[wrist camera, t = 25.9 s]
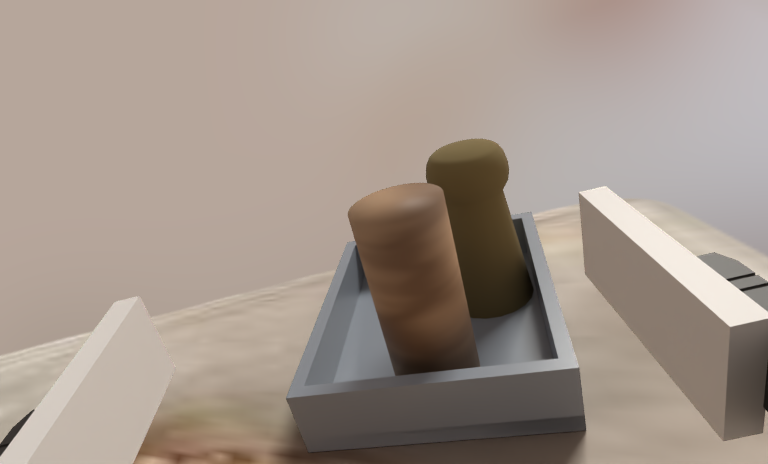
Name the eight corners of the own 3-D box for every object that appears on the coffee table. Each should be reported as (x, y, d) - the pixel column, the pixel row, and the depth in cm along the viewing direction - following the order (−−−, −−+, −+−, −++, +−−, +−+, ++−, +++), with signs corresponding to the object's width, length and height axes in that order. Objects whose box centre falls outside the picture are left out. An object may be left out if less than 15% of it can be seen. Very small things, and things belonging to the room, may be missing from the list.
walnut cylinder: (394, 407, 30) (340, 232, 25) (399, 351, 34) (354, 194, 30) (484, 395, 29) (444, 212, 24) (477, 339, 33) (442, 176, 29)
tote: (308, 452, 30) (285, 398, 28) (359, 283, 45) (347, 242, 44) (586, 430, 27) (579, 367, 25) (537, 257, 42) (531, 211, 41)
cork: (467, 267, 41) (440, 132, 37) (545, 274, 38) (524, 125, 34) (432, 312, 37) (396, 165, 33) (516, 324, 34) (489, 161, 29)
